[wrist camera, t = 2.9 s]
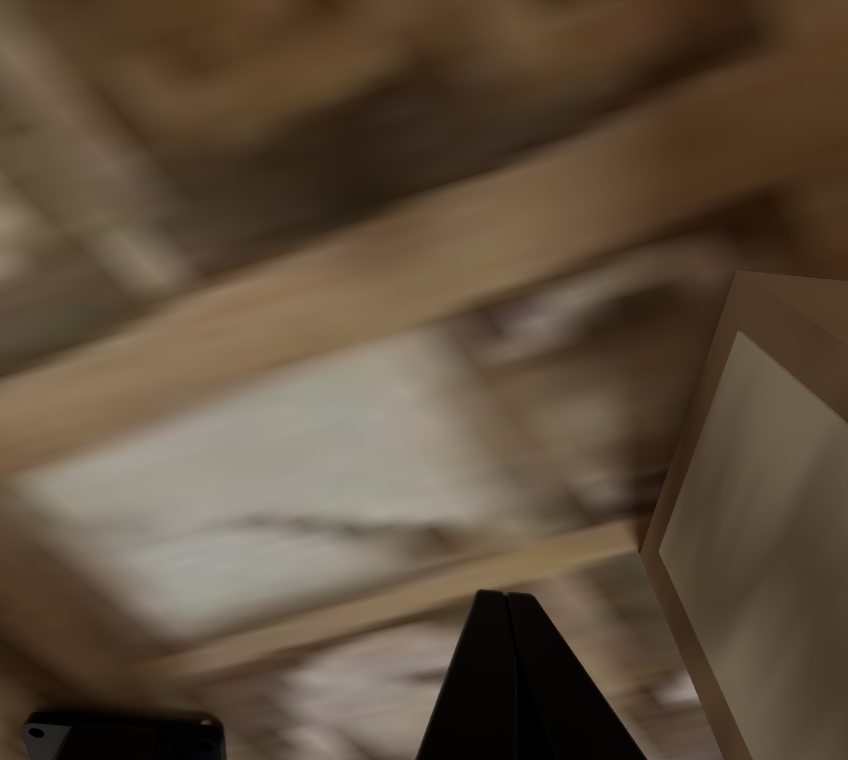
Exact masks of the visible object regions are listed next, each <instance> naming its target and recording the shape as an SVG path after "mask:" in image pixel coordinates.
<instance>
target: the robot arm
mask: <svg viewBox="0 0 848 760" xmlns="http://www.w3.org/2000/svg"><path fill="white" fill-rule="evenodd" d="M21 733H22V736H23V739H24V742H25V744H26V747H27V750H28V753H29V756H30V759H31V760H226V750H225V739H224V734H223V732H222V731H221V730H219V729H218V728H216V727H212V726H207V725H195V724H183V723H171V722H159V721H147V720H135V719H123V718H111V717H99V716H87V715H75V714H63V713H51V712H34V713H31V714H30V715H29V717H28V718H27V720H26V721H25V723H24V724H23V726H22V727H21ZM415 760H647V758H646V757H645V755H644V754H643V753H642V751H641V750H640V748H639V747H638V745H637V744H636V742H635V741H634V740H633V738H632V737H631V735H630V734H629V732H628V731H627V729H626V728H625V727H624V725H623V724H622V722H621V721H620V719H619V718H618V716H617V715H616V714H615V712H614V711H613V709H612V708H611V706H610V705H609V703H608V702H607V701H606V699H605V698H604V696H603V695H602V693H601V692H600V690H599V689H598V688H597V686H596V685H595V683H594V682H593V680H592V679H591V677H590V676H589V675H588V673H587V672H586V670H585V669H584V667H583V666H582V664H581V663H580V662H579V660H578V659H577V657H576V656H575V654H574V653H573V651H572V650H571V649H570V647H569V646H568V644H567V643H566V641H565V640H564V639H563V637H562V636H561V634H560V633H559V631H558V630H557V628H556V627H555V626H554V624H553V623H552V621H551V620H550V618H549V617H548V615H547V614H546V613H545V611H544V610H543V608H542V607H541V605H540V604H539V602H538V601H537V600H536V598H535V597H534V596H533V595H532V594H529V593H519V592H507V593H505V595H504V593H503V592H501V591H496V590H484V589H479V590H477V592H476V593H475V596H474V599H473V601H472V604H471V607H470V610H469V613H468V615H467V618H466V621H465V624H464V626H463V629H462V632H461V635H460V637H459V640H458V643H457V646H456V648H455V651H454V654H453V657H452V659H451V662H450V665H449V668H448V670H447V673H446V676H445V679H444V682H443V684H442V687H441V690H440V693H439V695H438V698H437V701H436V704H435V706H434V709H433V712H432V715H431V717H430V720H429V723H428V726H427V728H426V731H425V734H424V737H423V740H422V742H421V745H420V748H419V751H418V753H417V756H416V759H415Z"/></svg>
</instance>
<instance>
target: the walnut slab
mask: <svg viewBox="0 0 848 760" xmlns="http://www.w3.org/2000/svg"><path fill="white" fill-rule="evenodd" d="M640 556H641V559H642V561H643V564H644V566H645V569H646V571H647V573H648V576H649V578H650V581H651V583H652V586H653V588H654V590H655V593H656V595H657V598H658V600H659V603H660V605H661V607H662V610H663V612H664V615H665V617H666V620H667V622H668V624H669V627H670V629H671V632H672V634H673V637H674V639H675V641H676V644H677V646H678V649H679V651H680V654H681V656H682V658H683V661H684V663H685V666H686V668H687V671H688V673H689V675H690V678H691V680H692V683H693V685H694V688H695V690H696V692H697V695H698V697H699V700H700V702H701V705H702V707H703V709H704V712H705V714H706V717H707V719H708V722H709V724H710V726H711V729H712V731H713V734H714V736H715V739H716V741H717V743H718V746H719V748H720V751H721V753H722V756H723V758H724V760H848V281H843V280H833V279H823V278H813V277H803V276H793V275H783V274H773V273H763V272H753V271H743V270H736V273H735V276H734V279H733V281H732V284H731V287H730V290H729V293H728V296H727V299H726V302H725V305H724V308H723V311H722V314H721V317H720V320H719V323H718V325H717V328H716V331H715V334H714V337H713V340H712V343H711V346H710V349H709V352H708V355H707V358H706V361H705V364H704V367H703V369H702V372H701V375H700V378H699V381H698V384H697V387H696V390H695V393H694V396H693V399H692V402H691V405H690V408H689V411H688V413H687V416H686V419H685V422H684V425H683V428H682V431H681V434H680V437H679V440H678V443H677V446H676V449H675V452H674V455H673V457H672V460H671V463H670V466H669V469H668V472H667V475H666V478H665V481H664V484H663V487H662V490H661V493H660V496H659V499H658V501H657V504H656V507H655V510H654V513H653V516H652V519H651V522H650V525H649V528H648V531H647V534H646V537H645V540H644V543H643V545H642V548H641V551H640Z"/></svg>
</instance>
